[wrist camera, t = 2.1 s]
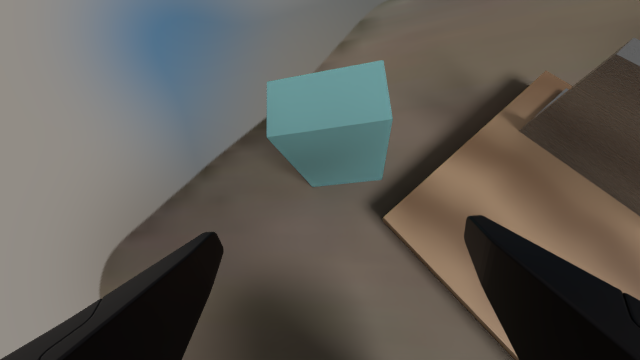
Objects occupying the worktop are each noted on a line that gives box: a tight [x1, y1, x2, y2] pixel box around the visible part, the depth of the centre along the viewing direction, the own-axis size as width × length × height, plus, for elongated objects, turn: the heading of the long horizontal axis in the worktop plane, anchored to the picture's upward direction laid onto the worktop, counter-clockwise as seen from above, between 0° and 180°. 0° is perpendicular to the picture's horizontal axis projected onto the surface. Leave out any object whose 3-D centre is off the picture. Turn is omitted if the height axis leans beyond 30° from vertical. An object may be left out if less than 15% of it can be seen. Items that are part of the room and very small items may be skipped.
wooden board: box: [382, 71, 640, 360], centre depth 18 cm, size 18×16×2 cm
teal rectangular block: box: [267, 60, 392, 187], centre depth 18 cm, size 4×6×11 cm, turn 93°
